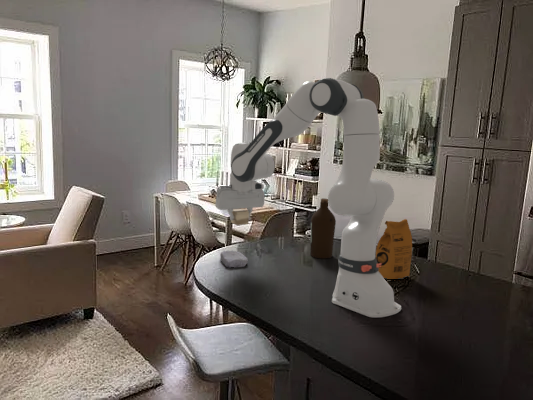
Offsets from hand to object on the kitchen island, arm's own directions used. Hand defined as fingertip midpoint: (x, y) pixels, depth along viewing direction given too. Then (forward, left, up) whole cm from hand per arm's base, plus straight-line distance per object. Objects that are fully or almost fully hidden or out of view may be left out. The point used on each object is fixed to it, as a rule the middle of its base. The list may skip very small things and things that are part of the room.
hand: (239, 219), depth 172 cm
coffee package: (-40, -44, -18) cm, 62 cm away
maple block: (0, 0, -2) cm, 2 cm away
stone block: (+2, +1, -19) cm, 19 cm away
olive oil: (-6, -38, -18) cm, 43 cm away
